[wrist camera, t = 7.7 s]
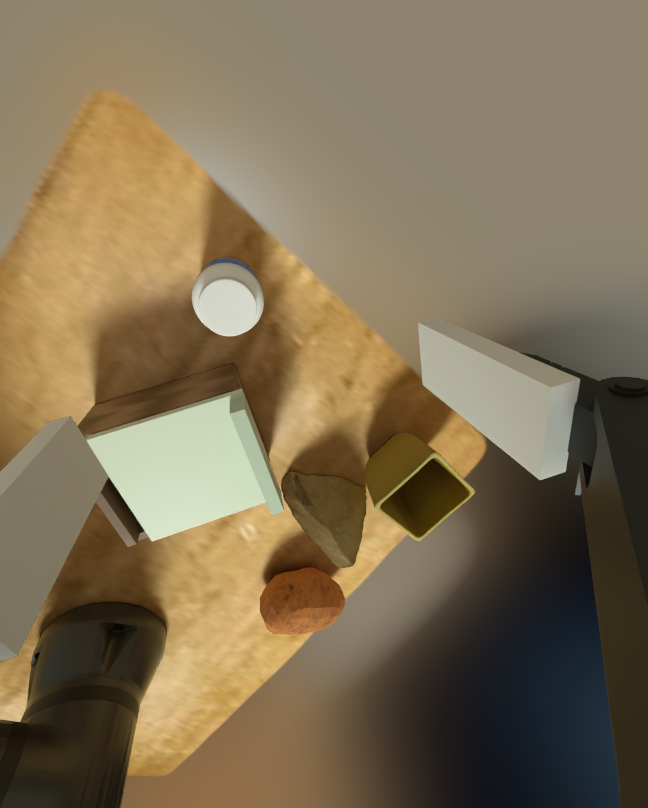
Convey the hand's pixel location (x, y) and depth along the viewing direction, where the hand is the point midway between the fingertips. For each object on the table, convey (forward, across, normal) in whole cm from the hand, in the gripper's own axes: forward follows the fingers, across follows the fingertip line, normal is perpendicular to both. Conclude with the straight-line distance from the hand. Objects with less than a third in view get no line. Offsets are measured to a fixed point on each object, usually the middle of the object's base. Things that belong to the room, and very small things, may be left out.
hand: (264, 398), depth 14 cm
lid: (+16, -9, -12) cm, 22 cm away
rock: (+23, +3, -25) cm, 34 cm away
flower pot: (+23, +12, -23) cm, 35 cm away
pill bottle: (+23, -1, +1) cm, 23 cm away
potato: (+23, -4, -40) cm, 46 cm away
